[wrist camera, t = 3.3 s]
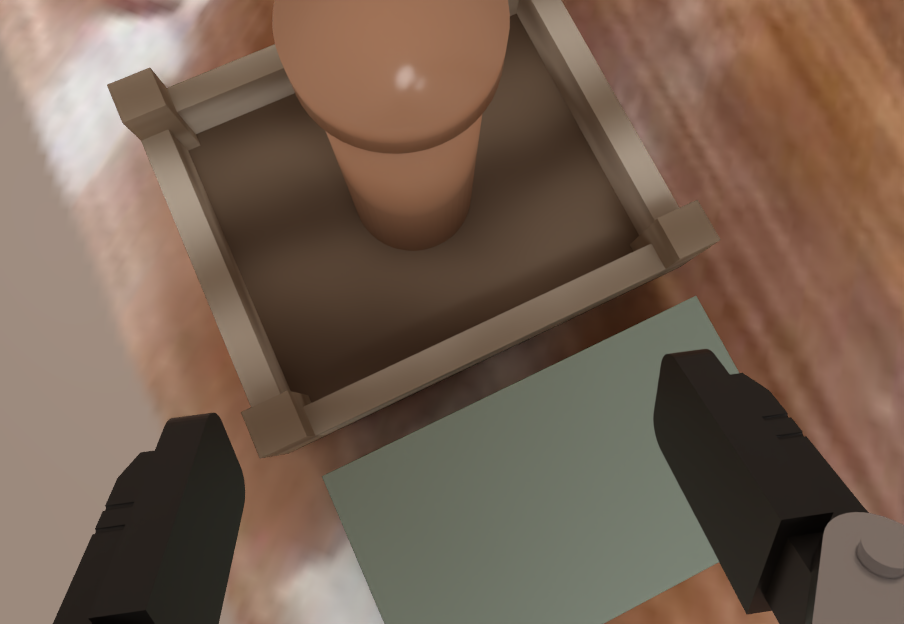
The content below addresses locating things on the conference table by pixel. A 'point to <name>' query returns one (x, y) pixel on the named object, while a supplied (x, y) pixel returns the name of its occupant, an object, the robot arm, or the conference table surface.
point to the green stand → (534, 494)
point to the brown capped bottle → (398, 101)
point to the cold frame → (390, 269)
